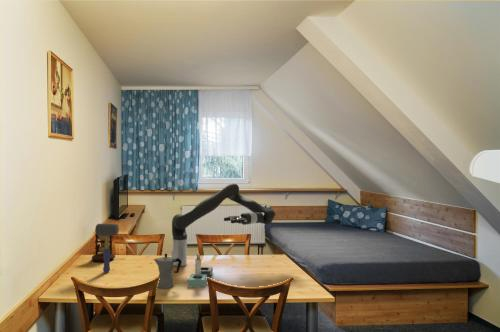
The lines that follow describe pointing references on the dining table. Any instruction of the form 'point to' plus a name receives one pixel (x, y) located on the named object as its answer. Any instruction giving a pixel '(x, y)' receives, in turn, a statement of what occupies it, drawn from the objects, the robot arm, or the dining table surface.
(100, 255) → the dark brown lantern
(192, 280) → the rack block
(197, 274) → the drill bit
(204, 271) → the socket block
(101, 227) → the rubber mallet
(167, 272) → the coffeepot
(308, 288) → the dining table surface
